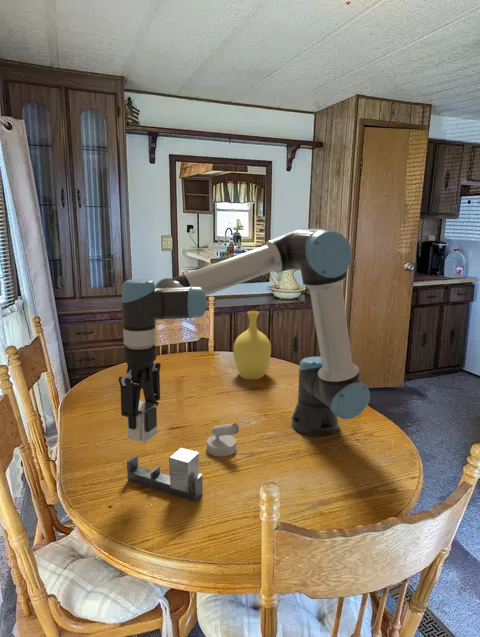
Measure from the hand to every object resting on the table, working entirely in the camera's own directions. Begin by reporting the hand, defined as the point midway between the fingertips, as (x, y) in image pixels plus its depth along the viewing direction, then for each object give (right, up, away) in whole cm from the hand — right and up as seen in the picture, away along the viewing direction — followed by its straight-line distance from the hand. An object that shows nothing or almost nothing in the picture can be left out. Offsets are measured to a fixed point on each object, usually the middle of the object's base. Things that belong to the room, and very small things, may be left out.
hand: (142, 434), depth 109 cm
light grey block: (0, 0, 0) cm, 0 cm away
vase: (+29, +4, +80) cm, 85 cm away
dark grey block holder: (+5, -13, +1) cm, 14 cm away
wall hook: (+19, -10, +19) cm, 29 cm away
